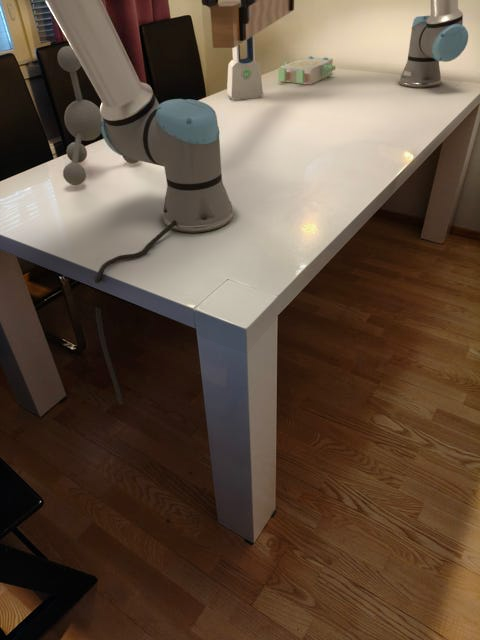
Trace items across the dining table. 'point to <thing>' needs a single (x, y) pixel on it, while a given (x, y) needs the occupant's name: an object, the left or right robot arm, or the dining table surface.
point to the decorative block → (306, 70)
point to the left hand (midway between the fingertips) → (231, 39)
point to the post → (261, 14)
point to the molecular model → (79, 121)
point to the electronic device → (244, 74)
